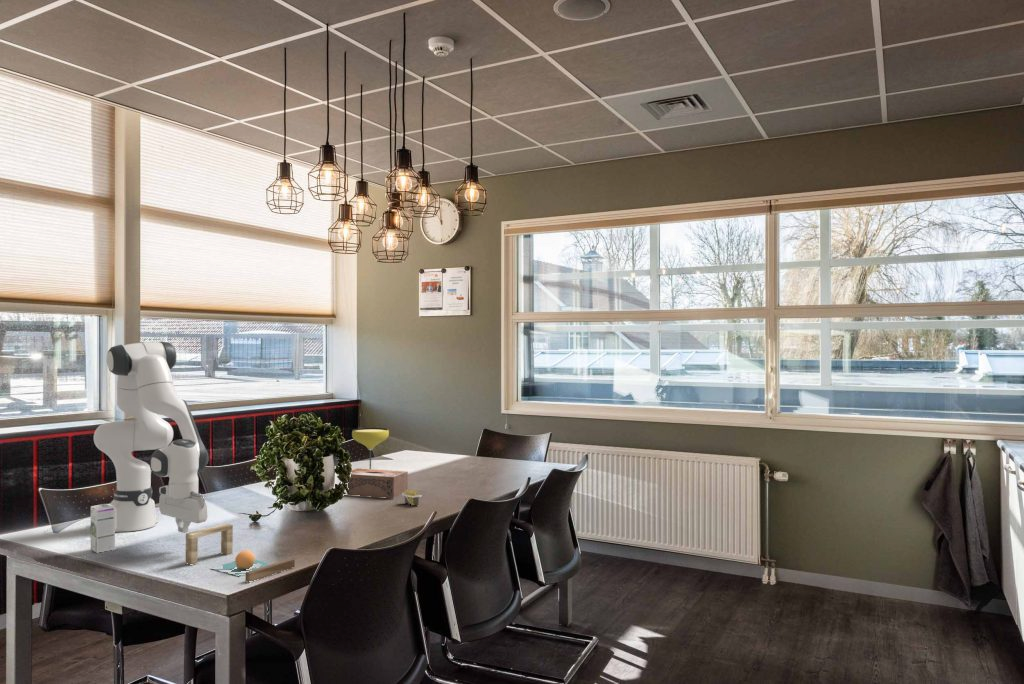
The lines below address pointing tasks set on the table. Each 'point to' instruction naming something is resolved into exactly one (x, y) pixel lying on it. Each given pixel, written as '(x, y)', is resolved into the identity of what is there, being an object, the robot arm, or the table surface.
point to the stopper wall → (270, 569)
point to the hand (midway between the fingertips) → (183, 531)
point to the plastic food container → (411, 497)
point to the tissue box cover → (378, 483)
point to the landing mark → (232, 565)
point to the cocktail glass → (370, 437)
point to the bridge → (193, 536)
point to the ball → (245, 560)
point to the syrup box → (102, 528)
